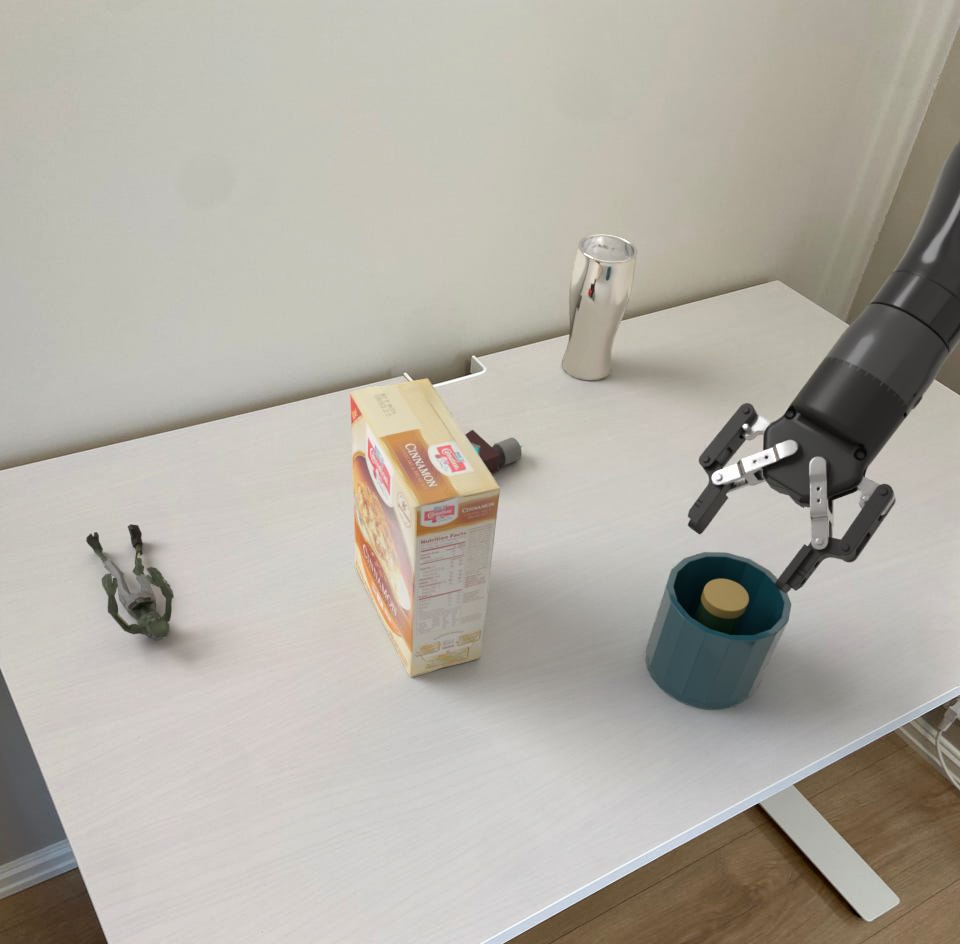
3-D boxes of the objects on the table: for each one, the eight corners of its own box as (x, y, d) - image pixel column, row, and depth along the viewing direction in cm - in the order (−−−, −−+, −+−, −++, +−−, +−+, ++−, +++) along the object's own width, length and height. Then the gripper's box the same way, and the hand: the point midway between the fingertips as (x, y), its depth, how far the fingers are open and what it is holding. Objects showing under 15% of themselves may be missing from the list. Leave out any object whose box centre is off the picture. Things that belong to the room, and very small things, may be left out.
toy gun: (531, 463, 104) (536, 426, 100) (438, 500, 98) (441, 462, 95) (479, 416, 109) (482, 379, 105) (388, 449, 103) (388, 411, 100)
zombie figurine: (131, 484, 86) (179, 597, 78) (143, 540, 91) (189, 652, 83) (69, 498, 84) (111, 615, 76) (84, 555, 89) (126, 670, 81)
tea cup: (765, 641, 89) (797, 572, 82) (749, 724, 82) (782, 655, 75) (658, 609, 90) (680, 539, 84) (634, 688, 84) (656, 618, 77)
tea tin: (726, 648, 87) (752, 585, 81) (719, 678, 84) (745, 616, 78) (685, 635, 87) (708, 573, 81) (677, 665, 85) (699, 602, 79)
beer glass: (624, 364, 118) (649, 246, 107) (598, 390, 114) (621, 269, 103) (574, 344, 120) (594, 226, 109) (547, 368, 116) (565, 248, 105)
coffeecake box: (352, 565, 91) (346, 388, 77) (422, 548, 93) (430, 374, 79) (407, 680, 82) (413, 506, 68) (483, 659, 85) (504, 486, 70)
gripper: (781, 321, 72) (652, 500, 75) (951, 410, 66) (802, 602, 69) (799, 360, 79) (679, 523, 82) (955, 444, 73) (819, 618, 75)
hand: (736, 559), depth 75 cm, fingers open, 8 cm apart
